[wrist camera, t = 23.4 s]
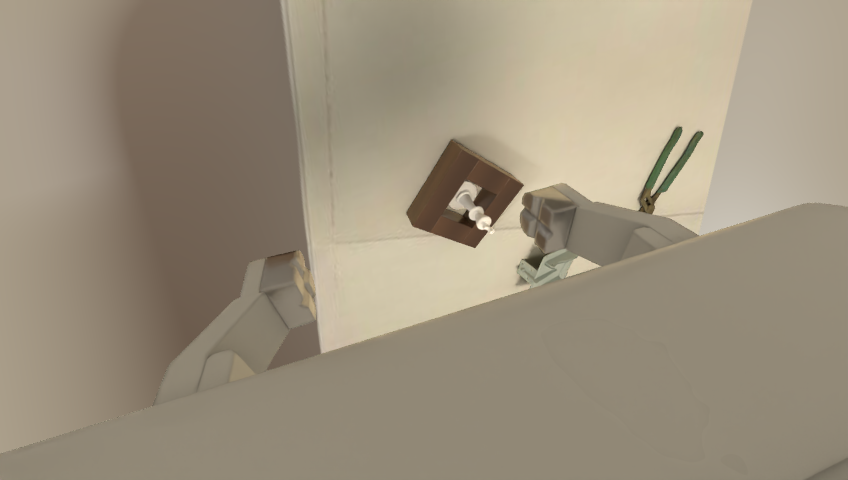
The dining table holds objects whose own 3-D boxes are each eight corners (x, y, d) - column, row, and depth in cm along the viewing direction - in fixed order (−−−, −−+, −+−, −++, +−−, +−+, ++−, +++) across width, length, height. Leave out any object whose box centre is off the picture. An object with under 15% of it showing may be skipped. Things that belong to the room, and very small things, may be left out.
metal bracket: (526, 313, 60) (554, 255, 51) (505, 294, 64) (527, 237, 55) (568, 288, 67) (599, 234, 58) (547, 272, 71) (573, 219, 62)
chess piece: (457, 173, 42) (490, 209, 35) (481, 186, 45) (517, 223, 38) (438, 201, 44) (465, 241, 37) (462, 212, 47) (492, 252, 39)
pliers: (674, 125, 50) (682, 127, 49) (702, 125, 52) (710, 127, 51) (619, 223, 61) (624, 227, 60) (643, 221, 63) (648, 224, 62)
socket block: (406, 212, 44) (412, 226, 41) (451, 139, 39) (462, 149, 36) (466, 235, 50) (475, 248, 48) (511, 174, 45) (524, 185, 43)
